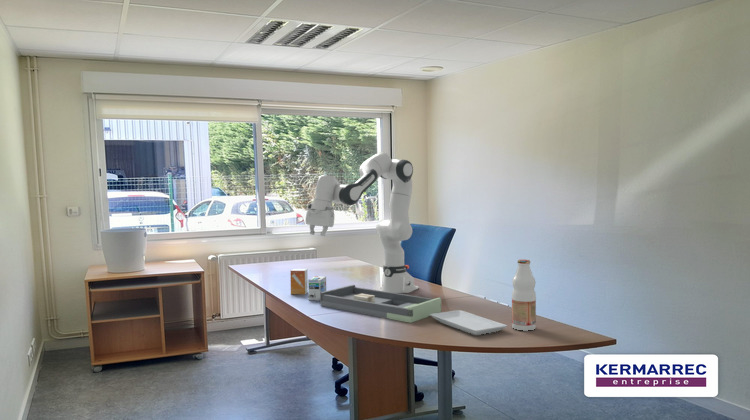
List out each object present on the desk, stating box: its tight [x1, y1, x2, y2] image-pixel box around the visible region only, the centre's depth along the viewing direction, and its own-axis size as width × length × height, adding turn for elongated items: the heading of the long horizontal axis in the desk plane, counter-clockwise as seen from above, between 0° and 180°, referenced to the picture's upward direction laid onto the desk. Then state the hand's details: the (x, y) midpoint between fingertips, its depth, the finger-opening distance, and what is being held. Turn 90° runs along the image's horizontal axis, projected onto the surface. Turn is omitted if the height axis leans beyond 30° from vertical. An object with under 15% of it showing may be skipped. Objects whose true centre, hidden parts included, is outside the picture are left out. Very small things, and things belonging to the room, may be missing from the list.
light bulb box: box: [308, 275, 327, 302], centre depth 289 cm, size 11×7×11 cm, turn 168°
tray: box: [429, 309, 508, 336], centre depth 232 cm, size 17×32×4 cm, turn 29°
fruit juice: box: [511, 259, 537, 332], centre depth 227 cm, size 9×9×28 cm
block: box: [354, 294, 375, 303], centre depth 264 cm, size 6×8×4 cm
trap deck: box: [320, 284, 442, 323], centre depth 265 cm, size 24×54×6 cm, turn 51°
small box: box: [290, 268, 309, 296], centre depth 302 cm, size 8×6×13 cm
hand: (317, 235), depth 270 cm, fingers open, 8 cm apart
